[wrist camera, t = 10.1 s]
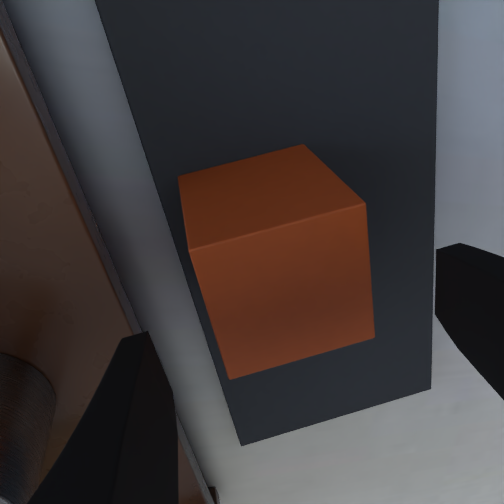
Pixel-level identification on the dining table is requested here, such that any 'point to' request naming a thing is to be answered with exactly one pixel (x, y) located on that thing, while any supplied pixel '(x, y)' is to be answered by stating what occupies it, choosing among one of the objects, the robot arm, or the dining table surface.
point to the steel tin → (23, 428)
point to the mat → (318, 142)
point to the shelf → (58, 266)
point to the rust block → (278, 258)
